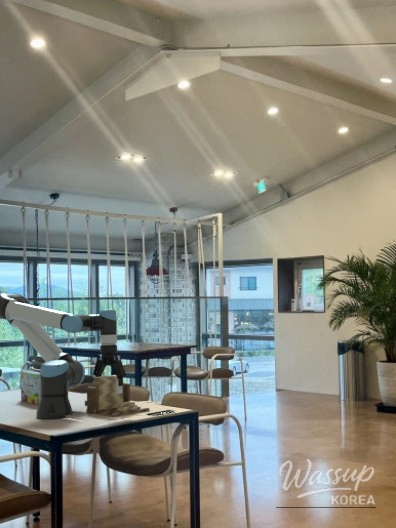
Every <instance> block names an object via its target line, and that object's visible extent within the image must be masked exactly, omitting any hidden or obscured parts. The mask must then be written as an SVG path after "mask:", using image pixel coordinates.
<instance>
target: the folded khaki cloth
mask: <svg viewBox="0 0 396 528" xmlns="http://www.w3.org/2000/svg"><path fill="white" fill-rule="evenodd" d="M119 376H120V375H119ZM116 379H117V376H116V374H113V375H102V376H100V377H96V376H94V377H93V387H97V388H98V410H102V409H109V408H115V407H116V403H120V402H123V386H122V393H121V394H116Z"/></svg>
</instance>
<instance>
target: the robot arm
mask: <svg viewBox="0 0 396 528" xmlns="http://www.w3.org/2000/svg"><path fill="white" fill-rule="evenodd" d="M0 320H5V321H7V322H8V324H10V326H11V327H12V328H13V327H14V328H17V329H18V330H19V331H20V332H21V334H22V335H23V336H24V338H25V339H26V340H27V341H28V342H29V344H30V345H31V346H32V347H33V348H34V350H35V351H36V352H37V353H38V354H39V356H40V357H41V358H42V360H44V362H43V363H41V365H40V371H39V372H40V374H41V399H40V402H39V405H37V410H36V414H35V415H36V418H37V419H42V420H43V419H44V420H46V419H47V420H53V419H65V418H67V417H68V416H70V415H72V414H73V409H72V405H71V401H70V398H69V389H70V388H71V389H72V388H75V387H76V386H78V385H80V384H81V383H83V381H84V379H85V375H86V370H85V369H86V368H85V366H84V365H83V364H82V362H80V361H78V360H75V359H73V357H72V356H71V355H70V354H69V353H68V352H63V350H62V349H61V348H60V347H59V346H58V345H57V344H56V342H55V341H54V340H53V338H51V336H50V335H49V334H48V332H47V331H46V330H45V329H44V328H43V326H44V327H49V328H53V329H58V330H61V331H62V330H63V331H65V332H66V333H70V334H75V333H84V332H86V333H87V332H99V344H100V346H99V349H100V350H99V352H100V354H98V355H97V354H96V362H95V366H94V368H93V371H92V375H93V376H94V377H101V376H103V373H104V371H105V370H106V368H107V367H108V366H110V367H111V369H112V371H113V372H114V375H116V376H117V379H116V394H121V393H122V386H123V383H124V379H125V378H127V374H126V371H125V368H124V365H123V361H122V356H121V355H116V354H117V353H118V344H117V343H118V333H117V332H118V329H117V328H118V323H117V322H118V321H117V320H118V318H117V311H116V310H115V309H101V310H99V313H98V314H74V313H69V312H65V311H64V312H63V311H60V310H54V309H49V308H46V307H41V306H37V305H32V304H30V301H29V299H28V297H26V296H25V295H23V294H19V293H0ZM119 375H120V376H119Z"/></svg>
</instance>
